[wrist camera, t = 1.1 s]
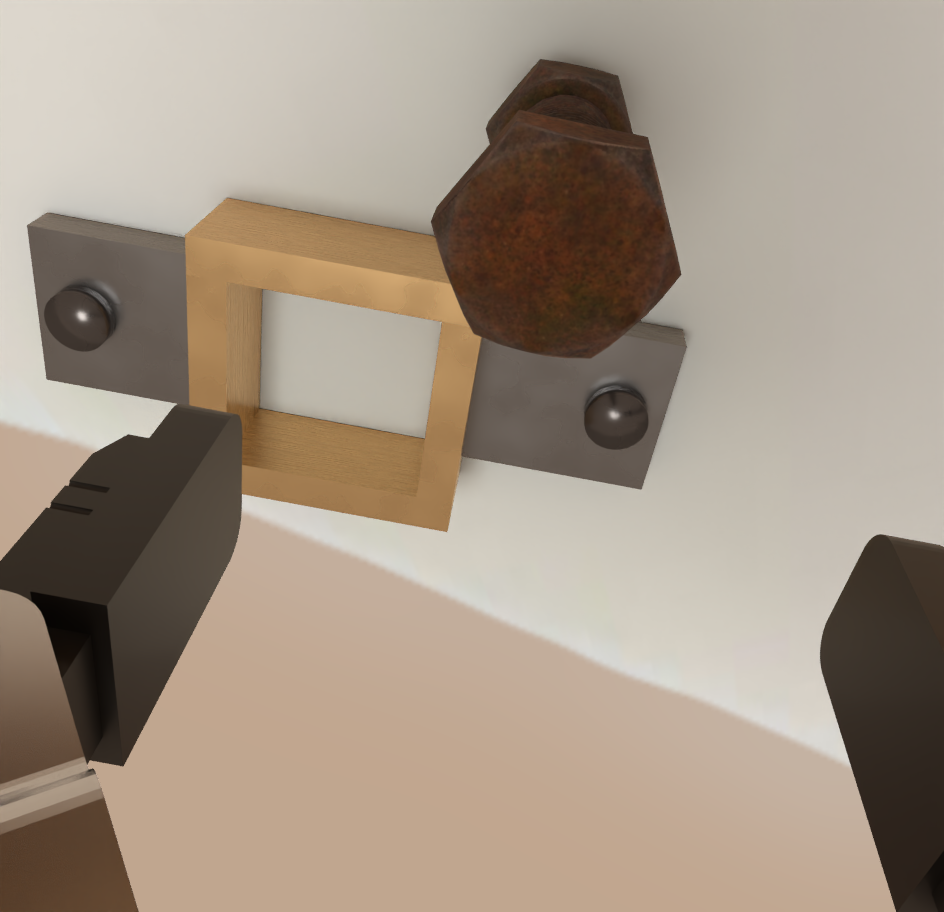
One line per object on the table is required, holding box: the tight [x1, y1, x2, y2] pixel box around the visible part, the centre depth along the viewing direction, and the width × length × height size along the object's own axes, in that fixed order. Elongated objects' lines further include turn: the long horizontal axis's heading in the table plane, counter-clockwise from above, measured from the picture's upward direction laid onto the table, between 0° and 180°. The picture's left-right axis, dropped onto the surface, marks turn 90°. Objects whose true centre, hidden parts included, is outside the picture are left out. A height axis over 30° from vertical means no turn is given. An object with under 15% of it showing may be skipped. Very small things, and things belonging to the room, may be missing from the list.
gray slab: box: [27, 213, 190, 405], centre depth 37 cm, size 8×7×2 cm
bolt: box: [431, 59, 681, 359], centre depth 26 cm, size 6×5×15 cm
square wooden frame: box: [185, 198, 482, 532], centre depth 36 cm, size 11×11×4 cm
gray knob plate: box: [462, 322, 687, 489], centre depth 37 cm, size 9×7×2 cm
